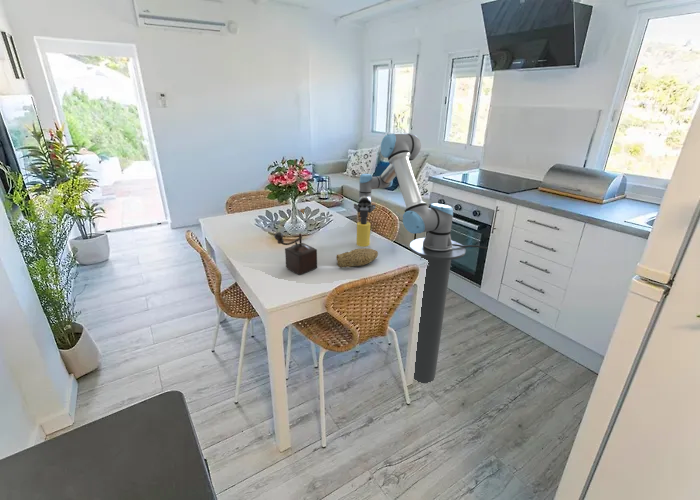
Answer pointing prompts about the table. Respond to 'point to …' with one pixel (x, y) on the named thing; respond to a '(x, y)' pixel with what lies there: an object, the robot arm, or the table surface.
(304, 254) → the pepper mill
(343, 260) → the sponge
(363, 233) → the spray bottle
